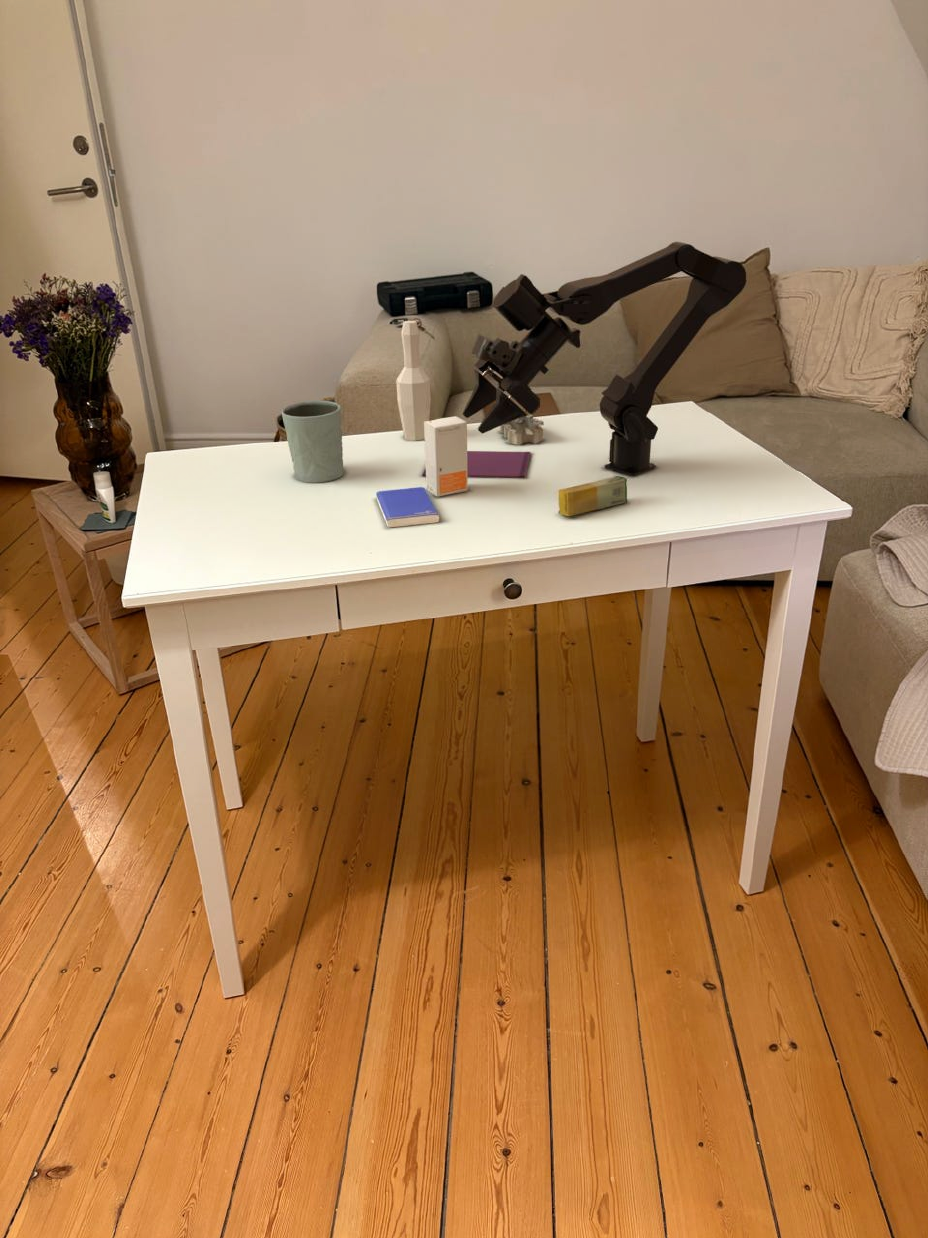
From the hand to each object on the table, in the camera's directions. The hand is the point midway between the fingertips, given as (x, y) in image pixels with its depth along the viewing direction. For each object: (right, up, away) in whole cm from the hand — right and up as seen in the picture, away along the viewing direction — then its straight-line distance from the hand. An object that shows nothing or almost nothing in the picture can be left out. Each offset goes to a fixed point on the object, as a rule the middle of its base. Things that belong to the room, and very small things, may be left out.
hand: (472, 423), depth 159 cm
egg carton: (+10, +3, +29) cm, 31 cm away
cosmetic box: (-4, -11, +4) cm, 12 cm away
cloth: (+1, -4, +15) cm, 16 cm away
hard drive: (-10, -15, -3) cm, 18 cm away
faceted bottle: (-11, +4, +31) cm, 33 cm away
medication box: (+19, -15, -5) cm, 25 cm away
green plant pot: (-27, -7, +13) cm, 31 cm away
